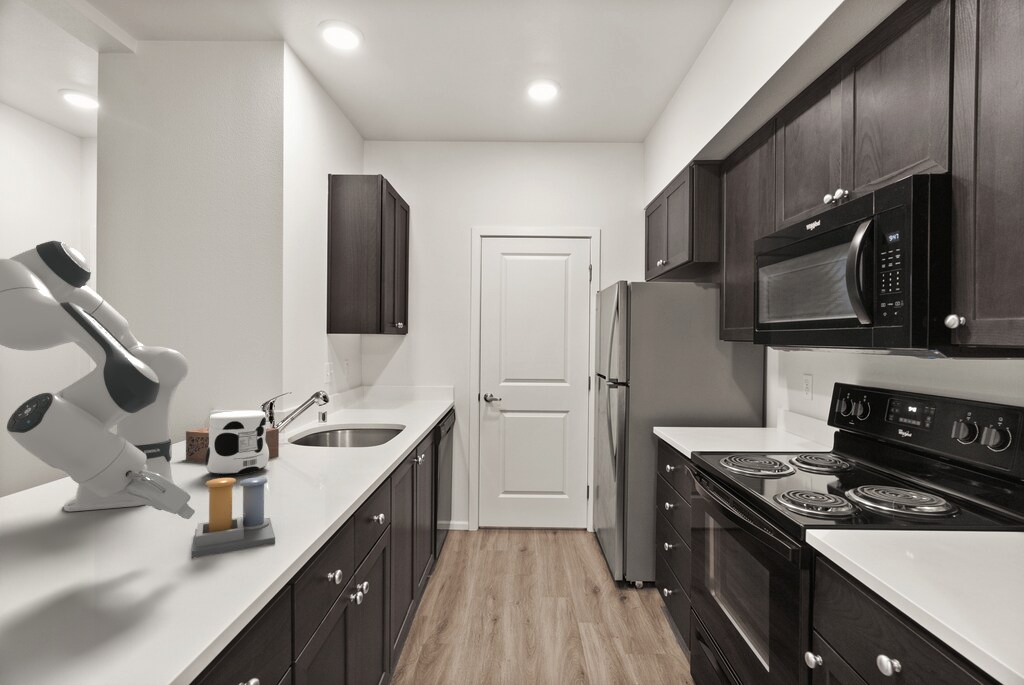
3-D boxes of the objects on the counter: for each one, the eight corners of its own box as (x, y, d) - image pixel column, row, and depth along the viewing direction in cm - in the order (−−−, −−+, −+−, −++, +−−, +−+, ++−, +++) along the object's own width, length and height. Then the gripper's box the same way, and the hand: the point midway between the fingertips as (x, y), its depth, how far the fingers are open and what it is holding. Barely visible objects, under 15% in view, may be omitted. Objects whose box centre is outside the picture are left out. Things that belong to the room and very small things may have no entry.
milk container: (227, 465, 165) (227, 410, 165) (279, 465, 164) (279, 410, 164) (191, 479, 148) (192, 418, 148) (250, 480, 147) (250, 418, 147)
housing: (192, 557, 94) (192, 500, 94) (195, 534, 105) (195, 483, 105) (275, 543, 101) (275, 489, 101) (269, 523, 112) (270, 474, 112)
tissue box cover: (278, 456, 178) (278, 428, 178) (245, 466, 165) (246, 435, 165) (221, 451, 186) (221, 424, 186) (185, 460, 172) (186, 431, 172)
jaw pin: (204, 542, 98) (205, 486, 98) (205, 534, 102) (206, 479, 102) (235, 537, 100) (235, 482, 100) (235, 529, 105) (235, 476, 105)
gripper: (160, 460, 82) (220, 504, 91) (103, 447, 93) (161, 487, 101) (129, 494, 78) (194, 537, 87) (72, 477, 89) (136, 516, 97)
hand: (176, 510), depth 94 cm, fingers open, 8 cm apart
